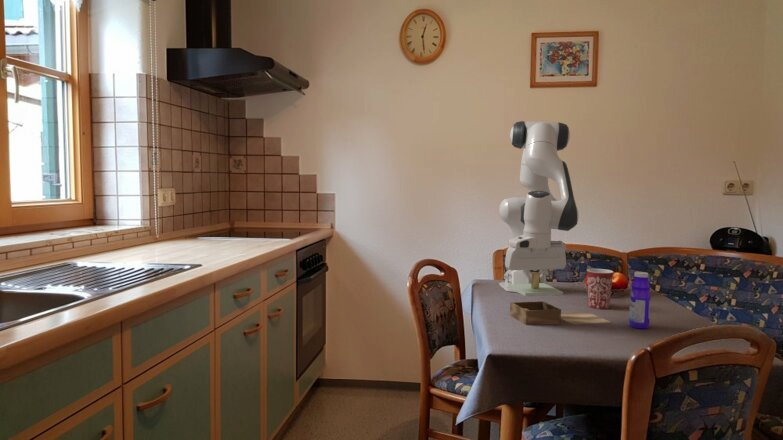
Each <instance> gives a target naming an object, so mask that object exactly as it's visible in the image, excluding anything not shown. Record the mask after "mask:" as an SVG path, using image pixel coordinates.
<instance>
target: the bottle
mask: <svg viewBox="0 0 783 440" xmlns="http://www.w3.org/2000/svg"><path fill="white" fill-rule="evenodd" d="M633 275H634V276H633V281H632V283H631V284H630V286H631V289H630V293H629V299H630V300H629V317H628V321H629V322H628V323H629V325H630V326H631V327H632V328H635V329H648V328H649V327H650V318H651V317H650V315H651V297H652V296H651V291H650V289H651V288H652V287H651V285H650V283H649V273H648V272H644V271H635V272H634V274H633Z"/></svg>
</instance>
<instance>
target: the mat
mask: <svg viewBox="0 0 783 440" xmlns="http://www.w3.org/2000/svg"><path fill="white" fill-rule="evenodd" d="M561 320H562V321H564V322H566V323H569V324H571V325H588V324H610V325H611V324H613V323H612V321H609V320H607V319H605V318H602V317H601V316H597V315H595V314H593V313H591V312H589V311H584V312H583V311H582V312H581V311H579V312H561Z"/></svg>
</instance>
